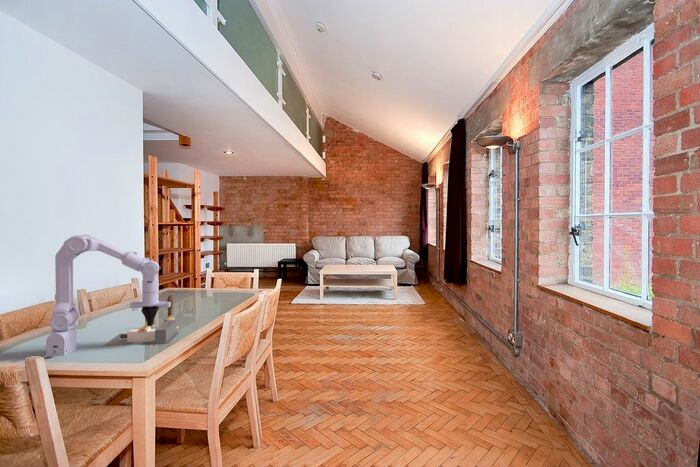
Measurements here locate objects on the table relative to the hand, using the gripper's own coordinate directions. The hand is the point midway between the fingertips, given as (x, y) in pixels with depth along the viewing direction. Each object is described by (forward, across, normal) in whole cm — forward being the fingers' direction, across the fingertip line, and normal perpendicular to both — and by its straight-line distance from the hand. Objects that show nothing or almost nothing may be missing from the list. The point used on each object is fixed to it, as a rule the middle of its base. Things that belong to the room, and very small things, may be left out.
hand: (150, 325), depth 147 cm
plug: (+7, +4, -4) cm, 9 cm away
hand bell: (+8, -1, -20) cm, 22 cm away
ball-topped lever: (+2, +4, -6) cm, 8 cm away
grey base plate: (+8, +5, -6) cm, 11 cm away
